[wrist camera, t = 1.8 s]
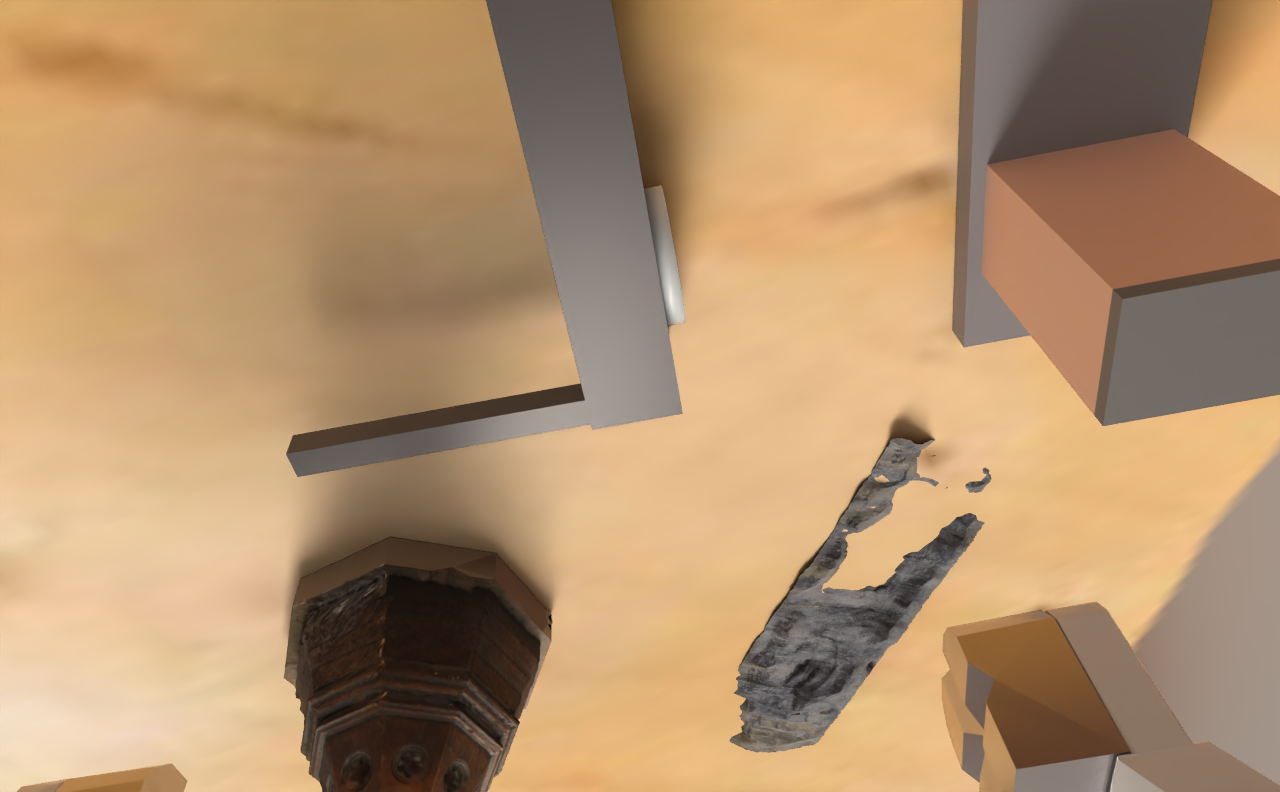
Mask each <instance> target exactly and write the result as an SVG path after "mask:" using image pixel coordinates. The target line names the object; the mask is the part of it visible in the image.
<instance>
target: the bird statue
mask: <svg viewBox="0 0 1280 792" xmlns="http://www.w3.org/2000/svg"><path fill="white" fill-rule="evenodd" d="M551 624H552V618H551V613H550V612H549V611H548V610H547V609H546V608H545V607H544V606H543V604H542V603H541V602H540V601H539V600H538V599H537V598H536V597H535V596H534V594H533V593H532V592H531V591H530V590H529V589H528V588H527V587H526V586H525V585H524V583H523V582H522V581H521V580H520V579H519V578H518V577H517V576H516V575H515V573H514V572H513V571H512V570H511V569H510V568H509V567H508V566H507V565H506V563H505V562H504V561H503V560H502V559H501V558H500V557H499V556H498V555H497V554H496V553H491V552H484V551H478V550H471V549H465V548H458V547H452V546H445V545H439V544H432V543H426V542H419V541H413V540H406V539H400V538H393V537H390V538H387V539H385V540H383V541H381V542H379V543H377V544H374V545H372V546H370V547H368V548H366V549H364V550H362V551H359V552H357V553H355V554H353V555H351V556H349V557H347V558H344V559H342V560H340V561H338V562H336V563H334V564H331V565H329V566H327V567H325V568H323V569H321V570H319V571H316V572H314V573H312V574H310V575H308V576H306V577H303V578H301V580H300V583H299V586H298V590H297V593H296V596H295V600H294V603H293V606H292V614H291V622H290V631H289V639H288V648H287V657H286V665H285V674H284V678H285V679H286V680H287V681H289V682H290V683H291V684H293V685H294V686H295V688H296V698H298V699H300V701H301V707H300V710H301V712H302V713H303V714H304V718H305V719H304V731H303V738H302V745H301V753H302V754H304V755H305V756H306V759H307V760H308V761H310V767H309V774H310V775H312V776H313V777H314V778H316V779H317V780H318V781H319V782H320V784H321V787H322V792H487V791H488V790H489V789H490V785H491V783H492V780H493V778H494V777H496V776H497V775H498V774H499V773H500V772H501V770H502V767H503V766H504V763H505V760H506V757H507V754H508V752H509V749H510V747H511V744H512V741H513V739H514V736H515V733H516V731H517V728H518V725H519V723H520V722H519V721H518V719H519V718H520V716H521V713H522V710H523V709H525V708H526V707H527V704H528V702H529V699H530V696H531V694H532V691H533V688H534V685H535V683H536V680H537V678H538V675H539V672H540V670H541V667H542V664H543V662H544V659H545V656H546V654H547V651H548V649H549V646H550V643H551Z"/></svg>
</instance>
